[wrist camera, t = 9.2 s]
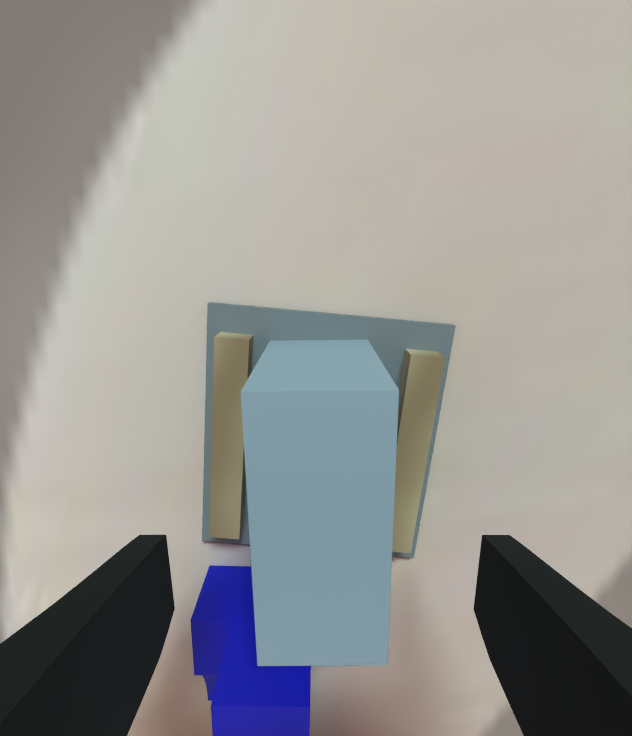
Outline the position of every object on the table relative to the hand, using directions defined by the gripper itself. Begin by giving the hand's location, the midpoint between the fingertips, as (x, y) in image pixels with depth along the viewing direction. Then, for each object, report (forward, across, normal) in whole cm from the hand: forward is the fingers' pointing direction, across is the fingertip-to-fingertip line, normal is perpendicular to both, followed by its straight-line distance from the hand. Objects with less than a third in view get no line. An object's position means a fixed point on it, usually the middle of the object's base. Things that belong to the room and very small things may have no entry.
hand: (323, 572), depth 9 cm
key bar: (+7, 0, 0) cm, 7 cm away
